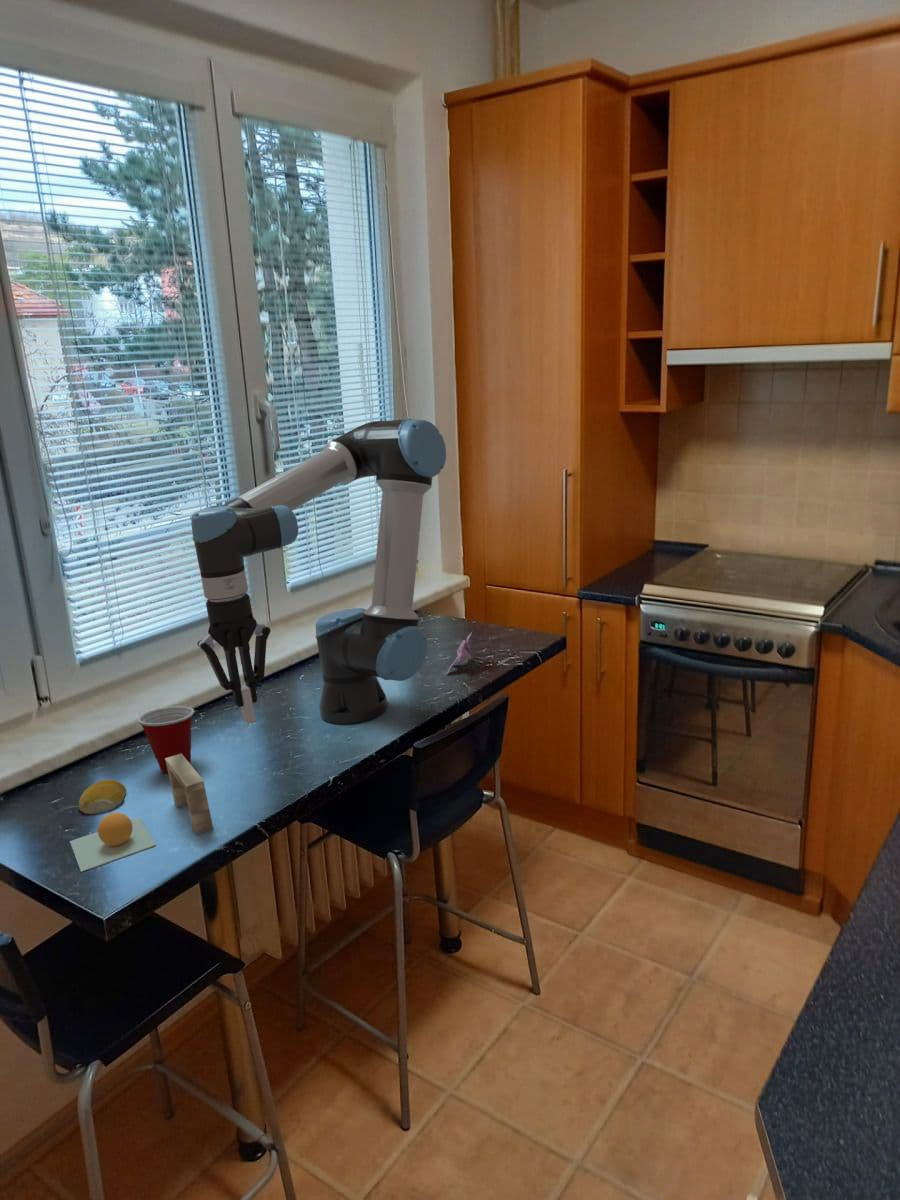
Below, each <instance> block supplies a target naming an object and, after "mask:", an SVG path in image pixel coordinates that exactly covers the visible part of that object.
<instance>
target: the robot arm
mask: <svg viewBox="0 0 900 1200" xmlns="http://www.w3.org/2000/svg"><path fill="white" fill-rule="evenodd" d="M446 460H447V447H446V443H445V440H444V437H443V435H442V434H441V433H440V430H439V429H438V427H437V426H436V425H435V424H433V423H432V422H430V421H428V420H425V419H418V418H417V419H416V418H405V419H393V420H375V421H369V422H366V423H363V424H361V425H359V426H357V427H355V428H353V429H351V430H349V431H347V432H345V433H343V434H341V435H340V436H338V437H336V438H334V439H332V440H330V441H328V442H327V443H326V444H325V445H324V447H323V449H322V451H320V452H319V453H317V454H315V455H313V456H311V457H309V458H308V459H306V460H304V461H301V463H299V464H296V465H295V466H293V467H291V468H289V469H288V470H285V471H283V472H281V473H280V474H278V475H276V476H275V477H273V478H271V479H269V480H267V481H265V482H263V483H262V484H259V485H258V486H256V487H254V488H252V489H250V490H248V491H247V492H244V493H243V494H241V495H239V496H237V497H235V498H233V499H231V500H229V501H227V502H226V503H224V504H222V505H211V506H206V507H204V508H202V509H199V510H196V511H195V512H193V514H191V518H190V519H191V530H192V532H191V533H192V541H193V542H194V547H195V552H196V557H197V562H198V569H199V572H200V579H201V584H202V589H203V590H202V591H203V595H204V596H203V597H204V598H205V599H206V602H205V606H206V607H205V608H206V612H207V616H208V622H209V627H208V630H207V631H208V632H207V633H208V634H207V635H206V637H204V638H203V640H198V641H197V647H198V648H200V649H201V650H202V651H203V652H204V653H205V656H206V657H207V660H208V661H209V663H210V666H211V668H212V670H213V672H214V675H215V676H216V678H217V681H218V682H219V685H220V686H221V688H222V689H224V691H225V690H226V691H229V690H230V691H232V697H233V702H234V704H235V706H237V707H238V708H240V710H241V715H242V720H243V721H244V722H245V723H246V724H247V725H249V724H253V723H255V722H257V719H256V715H255V709H254V703H256V702H257V701H258V696H257V691H256V687H257V683H259V682H262V681H263V680H264V679H265V668H266V655H267V640H268V638H269V636H270V634H271V628H270V627H269V626H267V625H265V624H259V623H257V620H256V618H255V617H254V615H253V609H252V603H251V598H250V597H251V596H250V595H249V594H248V591H249V586H248V581H247V576H246V570H245V569H246V568H245V562H244V558H247V557H249V556H253V555H258V554H261V553H265V552H269V551H272V550H276V549H282V548H284V547H286V546H288V545H289V546H290V545H291V544H293V543H294V542H296V540H297V538H298V537H299V536H298V535H299V525H298V520H297V516H296V514H295V513H294V510H296V509H297V508H299V507H301V506H303V505H305V504H306V503H308V502H310V501H312V500H313V499H316V498H317V497H318V496H321V495H322V494H324V493H326V492H327V491H329V490H331V489H332V488H334V487H336V486H338V485H339V484H341V483H342V484H344V485H345V484H346V485H347V484H351V483H353V482H354V481H356V480H358V479H361V478H367V477H375V478H376V479H375V483H376V485H378V487H379V488H380V489H381V502H380V512H379V523H378V534H377V544H376V554H375V563H374V564H375V566H374V575H373V576H374V577H373V587H372V596H371V604H370V606H369V607H367V609H365V608H363V607H362V608H361V607H354V608H347V609H342V610H338V611H335V612H331V613H328V614H325V615H323V616H321V617H320V618H318V619H317V621H316V622H315V639H316V644H317V649H318V656H319V663H320V667H321V668H320V669H321V673H322V680H323V685H322V690H321V695H320V701H319V714H320V718H321V719H322V720H323V721H325V722H327V723H331V724H335V725H337V724H338V725H348V724H349V725H350V724H356V723H357V724H358V723H362V722H366V721H369V720H372V719H375V718H377V717H378V716H380V715H382V714H383V713H385V712H386V710H387V709H388V700H387V696H386V693H385V691H384V688H383V687H382V685H381V683H380V680H379V679H378V678H381V679H382V680H385V681H395V682H402V681H406V680H409V679H411V678H412V677H414V676H415V675H416V673H417V672H418V671H419V670H420V669H421V668H422V667H423V665H424V663H425V661H426V658H427V655H428V654H427V653H428V639H427V637H426V634H425V633H424V631H423V630H422V629H420V627H419V616H418V614H417V613H416V612H415V611H414V609H413V607H414V605H413V604H414V595H415V585H416V574H417V566H418V565H417V564H418V555H419V554H418V553H419V544H420V542H419V541H420V534H421V533H420V531H421V525H422V524H421V521H422V512H423V502H424V496H425V494H426V493H427V492H429V490H431V488H432V486H433V485H432V483H433V478H434V477H436V476H437V475H439V474H440V473H441V471H442V470H443V468H444V467H445V465H446ZM253 635H255V636H256V637H255V642H254V658H253V663H252V657H251V652H250V651H251V647H250V641H251V639H252V636H253ZM214 641H215V642H216V643H217V644H218V645H219V646H221V647H222V649H223V652H224V656H225V661H226V668H227V672H228V677H227V675H226V672H225V670H224V667H223V666H222V663H221V661H220V659H219V657H218V655H217V653H216V651H215V650H214V648H215V643H214ZM236 648H238V653H239V658H240V663H241V665H240V666H241V669H242V674H243V675H242V676H243V680H244V684H241V677H240V672H239V666H238V660H237V651H236V650H237V649H236Z"/></svg>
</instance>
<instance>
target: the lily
mask: <svg viewBox="0 0 900 1200" xmlns="http://www.w3.org/2000/svg"><path fill="white" fill-rule="evenodd" d="M473 632H474V630H472V631H471V632H470V634H469V635H467V637H466V639H463V640H462V642H461V643H460V645H459V647H458V648H456V649H454V651H456V653H457V657H456V658H455V660H454V661H453V663H452V664H451V665H450V666H449V668H448V669H447V670H448V671H447V672H446V675H448V674H449V671H450V670H451V668H452V667H453V666H454V665H455V664H456V663H458V662H461V661H463V660H466V659H471V660H472V661H473V662H474V663H475V664H476V665H477V666H478V667H479V666H480V664H479V663H478V662H477V661H476V660H475V659H474V658H473V657H472V656H471V654H470V650H469V640H470V637H471V635H472V634H473Z"/></svg>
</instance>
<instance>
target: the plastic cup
mask: <svg viewBox="0 0 900 1200" xmlns="http://www.w3.org/2000/svg"><path fill="white" fill-rule="evenodd" d="M194 714H195V709H194V708H193V707H189V706H185V705H184V706H183V705H177V706H176V705H175V706H165V707H161V708H160V707H159V708H155V709H153V710H152V709H151V710H149V711H147V712H144V713H142V714H141V715H140V716H138V718H137V720H138V724H140V725H141V726H142V729H143V731H144V734H145V735H146V738H147V740H148V742H149V746H150V748H151V750H152V753H153V755H154V757H155V759H156V761H157V763H158V766H159V768H160V770H161V771H162V773H163V774H166V775H168V770H167V765H166V760H165V758H168V757H171V756H175V755H178V754H181V753H182V755H183V756H184V757H185V758H186V760H187V761H188V762H189V763H190V765H191V766H192V764H191V763H192V756H191V755H192V753H191V752H192V720H193V715H194Z"/></svg>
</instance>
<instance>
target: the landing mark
mask: <svg viewBox="0 0 900 1200" xmlns="http://www.w3.org/2000/svg"><path fill="white" fill-rule="evenodd" d="M130 820H131V822H132V833H131V836H130V837H129V839H128V840H127V841H126V842H125V843H123V844H121V845H118V846H109V845H107V844H105V843H103V842H102V841H101V839H100V838H99V835H98V831H96V832H93V833H90V834H86V835H83V836H81V837H79V838H75V839H73V840H72V839H71V840H69V844H70V846H71V849H72V851H73V854H75V855H74V857H75V860H76V863H77V865H78V868H79V870H80V873H84V872H87V871H90V870H92V869H95V868H98V867H101V866H103V865H106V864H109V863H111V862H115V861H118V860H120V859H123V858H126V857H128V856H130V855H134V854H137V853H139V852H143V851H145V850H148V849H150V848H154V847H156V846H157V844H156V843H155V841H154V839H153V838H152V836H151V834H150V832H149V830H148V829H147V827H146V825H145V823H144V821H143V820H142V818H141V817H136V818H134V819H130ZM89 869H90V870H89ZM86 870H87V871H86ZM83 871H84V872H83Z"/></svg>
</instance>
